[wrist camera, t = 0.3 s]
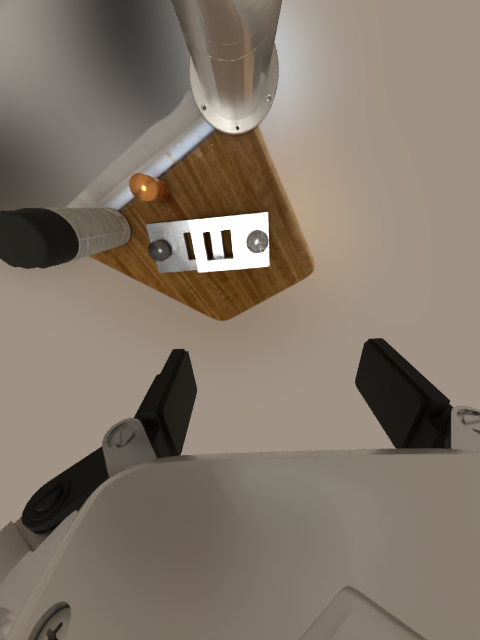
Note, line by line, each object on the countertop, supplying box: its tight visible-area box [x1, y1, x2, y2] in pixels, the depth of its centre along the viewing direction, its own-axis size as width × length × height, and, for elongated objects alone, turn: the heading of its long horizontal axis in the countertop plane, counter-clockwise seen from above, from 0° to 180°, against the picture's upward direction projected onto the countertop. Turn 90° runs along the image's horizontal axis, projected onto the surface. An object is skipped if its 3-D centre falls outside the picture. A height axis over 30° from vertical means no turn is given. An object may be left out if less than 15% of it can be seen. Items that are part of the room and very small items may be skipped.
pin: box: [129, 173, 170, 202], centre depth 33 cm, size 3×3×8 cm
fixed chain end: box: [146, 217, 225, 273], centre depth 39 cm, size 14×9×4 cm, turn 95°
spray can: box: [0, 208, 131, 269], centre depth 31 cm, size 7×7×20 cm
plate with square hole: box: [189, 212, 269, 273], centre depth 39 cm, size 14×9×4 cm, turn 95°
